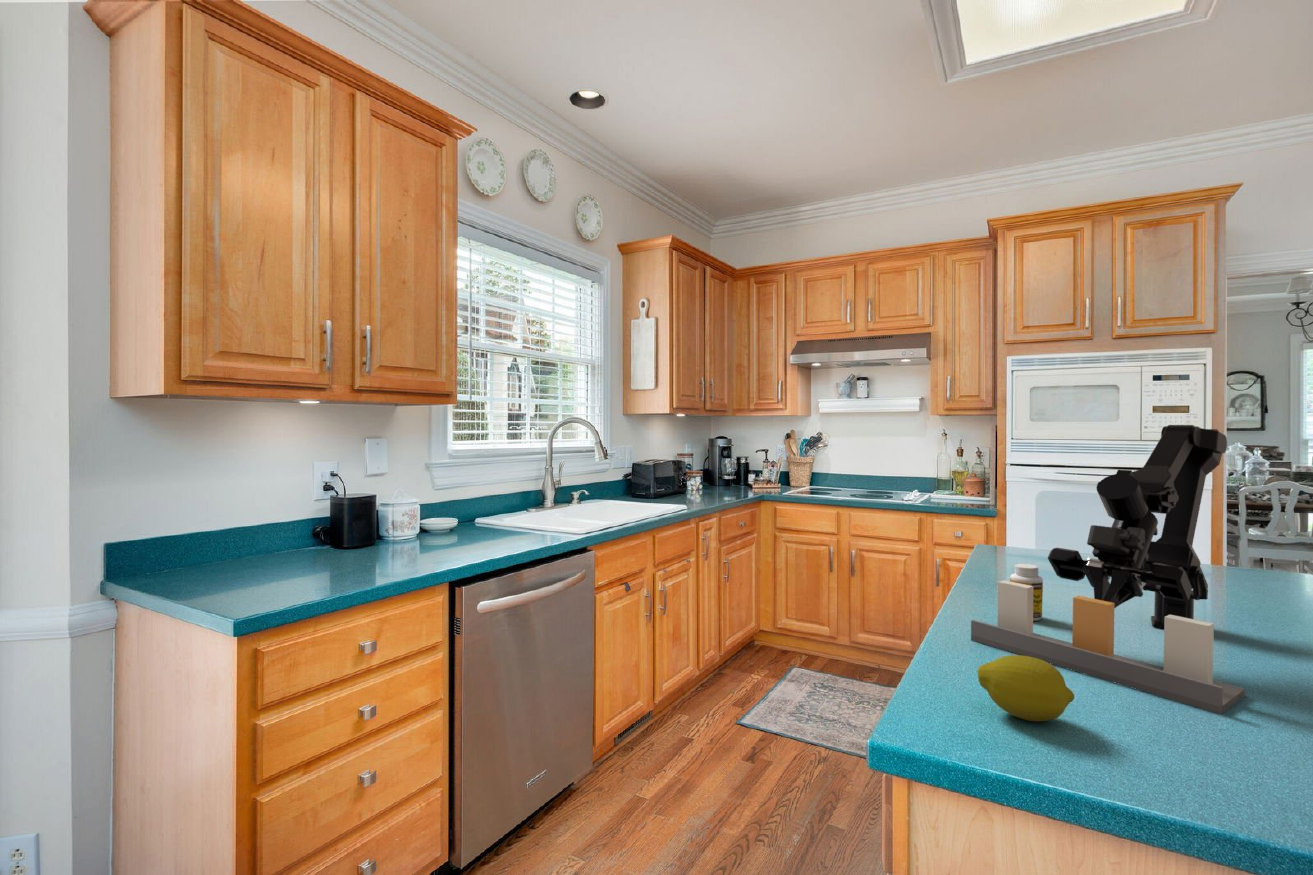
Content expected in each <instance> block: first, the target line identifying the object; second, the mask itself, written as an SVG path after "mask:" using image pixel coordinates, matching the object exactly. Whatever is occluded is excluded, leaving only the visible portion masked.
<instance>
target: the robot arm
mask: <svg viewBox="0 0 1313 875" xmlns="http://www.w3.org/2000/svg"><path fill="white" fill-rule="evenodd" d="M1160 435H1161V436H1160V438H1159V440H1158V442H1157V443H1156V445H1155V447H1154V448H1153V450H1152V452H1151V454H1150V455H1149V457H1148V458H1147V460H1146V462H1145V464H1144V466H1143V467H1142V468H1139V469H1136V470H1134V471H1132V469H1117V471H1116V473H1115V474H1111V475H1108V476H1106V477H1104V478H1103V479H1101V480H1100V481H1098V482H1097V484H1096V492H1097V494H1098V496H1099V498H1100V500H1101V503H1102V505H1103V507H1104V509H1105V511H1106V514H1107V516H1108V517H1110V518H1112V519H1113V522H1112V525H1111V527H1110V526H1103V525H1093V524H1091V525H1090V527H1089V533H1088V538H1087V542H1086V544H1087V546H1091V547H1092V548H1093V549H1092V555H1093V557H1095V558H1093V557H1092V558H1090V557H1087V560H1085V559H1083V558H1082V555H1081V554H1080V551H1079V550H1076V549H1069V548H1068V549H1067V548H1062V547H1053V548H1052V549H1051V550H1050V552H1049V554H1048V556H1047V560H1048V561H1049V563H1050V565H1051V567H1052V569H1053V571H1054V572H1055V574H1056V576H1057V577H1059V578H1060V579H1064V580H1069V581H1076V582H1080V581H1081V580H1083V579H1085V576H1086V578H1087V581H1088V583H1089V584H1090V586H1091V587H1092V588H1093V597H1094V598H1093V599H1097V600H1102V601H1107V602H1112V603H1115V605H1114V610H1115V609H1116V608H1117V607H1119V606H1120V605H1122V604H1124V603H1126V602H1128V601H1130V600H1132V599H1133V598H1136V597H1139V598H1141V597H1143V595H1144V592H1143V591H1146V592H1147V591H1148V592H1154V610H1153V612H1154V615H1151V616H1150V621H1151V626H1152V627H1154V628H1159V629H1164V618H1165V616H1168V615H1175V616H1180V617H1184V618H1189V619H1194V615H1195V612H1194V611H1195V601H1201V600H1204V601H1205V600H1206V601H1207V600H1208V598H1209V597H1208V595H1209V594H1208V593H1209V589H1208V588H1209V585H1208V581H1207V579H1206V577H1205V574H1204V572H1203V569H1202V567H1201V560H1200V558H1199V556H1198V555H1197V553H1196V551H1195V549H1194V547H1193V543H1194V538H1195V534H1196V528H1197V523H1198V519H1199V514H1200V509H1201V508H1200V507H1201V505H1202V504H1201V503H1202V498H1203V493H1204V489H1205V483H1206V478H1207V476H1208V475H1209V474H1210V473H1212V471H1213V470H1215V469H1216V468H1217V467H1218V466H1220V464H1221V461H1222V457H1223V454H1225V453H1226V451H1227V447H1228V440H1227V436H1226V435H1225V434H1224V433H1222V432H1220V431H1219V430H1218V429H1217V428H1214V429H1213V428H1201V427H1199V426H1198V425H1197V426H1195V425H1194V424H1168V425H1167V426H1166V425H1165V426H1163V427H1162V429H1161V433H1160ZM1155 514H1163V515H1164V514H1165V517H1164V523H1163V527H1162V532H1161V535H1160V537H1159V538H1158V539H1157V540H1155V541H1153V538H1154V536H1157V535H1158V534H1159V533H1158V532H1159V531H1158V524H1159V522H1158V518H1157V517H1156V515H1155ZM1109 580H1110V581H1109ZM1194 620H1195V619H1194Z"/></svg>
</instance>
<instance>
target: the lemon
mask: <svg viewBox="0 0 1313 875" xmlns="http://www.w3.org/2000/svg"><path fill="white" fill-rule="evenodd" d="M977 678H978V682H979V685H980V686H981V687H982V688H983V689H984V690H986V692H987V693H988V696H989V697H990V699H991V701H992V702H993V703H995V705H997V706H998V707H999V708H1000V709H1001V710H1003V711H1005V712H1006V713H1008V714H1009V715H1011V716H1013V717H1016V718H1019V719H1022V720H1025V721H1030V722H1048V721H1052V720H1053V721H1054V720H1055V719H1057V718H1059V717H1060V716H1062V715H1063V714H1064V712H1065V710H1066V708H1067V707H1068V705H1070V703H1071V702H1073V701H1074V699H1075V694H1074V693H1073V692H1074V691H1072V690H1071V689H1070V688H1068V687H1067V683H1066V681H1065V679H1064V676H1063V675H1062V674H1061V672H1060V671H1059V669H1057V668H1056V667H1055V665H1053V664H1049V663H1048V662H1045V661H1043V660H1041V659H1037V658H1034V657H1029V656H1022V655H1019V654H1014V655H1013V654H1012V655H1005V656H1001V657H999V658H996V659H994V660H992V661H990V662H986V663H984V664H982V665H980V666H978V668H977Z"/></svg>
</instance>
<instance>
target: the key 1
mask: <svg viewBox="0 0 1313 875" xmlns="http://www.w3.org/2000/svg"><path fill="white" fill-rule="evenodd" d="M1033 589H1034V586H1029V585H1025V584H1020V583H1015V582H1010V580H999V581H998V582H997V626H998V627H1002V628H1006V629H1009V630H1013V631H1017V632H1021V633H1024V634H1028V635H1032V636H1033V633H1034V621H1033Z"/></svg>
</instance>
